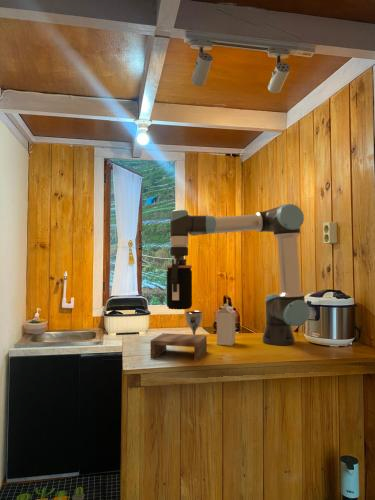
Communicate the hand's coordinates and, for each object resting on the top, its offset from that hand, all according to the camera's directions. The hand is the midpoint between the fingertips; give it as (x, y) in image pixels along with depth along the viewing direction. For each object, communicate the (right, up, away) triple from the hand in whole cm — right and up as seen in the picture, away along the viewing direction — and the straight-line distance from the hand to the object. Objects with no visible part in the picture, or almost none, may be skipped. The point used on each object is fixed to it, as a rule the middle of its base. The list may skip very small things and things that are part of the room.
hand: (179, 298), depth 157 cm
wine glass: (+7, -24, +20) cm, 32 cm away
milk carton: (+22, -24, +19) cm, 38 cm away
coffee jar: (0, -4, 0) cm, 4 cm away
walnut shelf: (0, -23, -1) cm, 23 cm away
